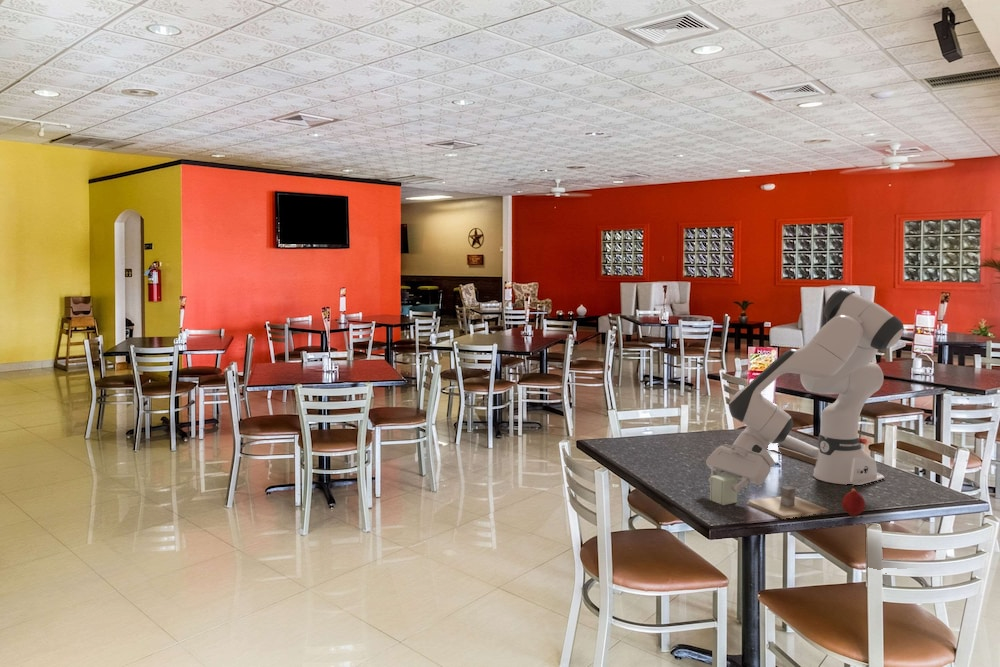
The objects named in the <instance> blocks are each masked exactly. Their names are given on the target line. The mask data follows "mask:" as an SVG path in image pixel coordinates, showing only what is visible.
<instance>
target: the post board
mask: <svg viewBox="0 0 1000 667" xmlns="http://www.w3.org/2000/svg"><path fill="white" fill-rule="evenodd" d="M780 489H781V490H780V496H776V497H773V496H772V497H769V498H760V499H753V500H752V499H751V500H748V503H747V504H748V505H749V506H751V507H753V508H756V509H758V510H760V511H763V512H765V513H766V514H769V513H770V514H769V515H771V514H772V516H774V515H775V516H774V517H776V516H777V517H776V518H778V517H780V518H782V519H781V520H783V519H784V520H787V519H786V518H790V519H795V517H797V518H802V517H808V516H809V515H810V516H814V515H813V514H816V515H820V514H819V513H823V512H828V513H829V510H828V508H826V507H823V506H822V505H821V506H820V505H818V504H816V503H813V502H811V501H808V500H806V499H803V498H801V497H798V496H796V488H794V487H791V486H782V487H781V488H780ZM823 514H824V513H823ZM801 516H802V517H801ZM793 517H794V518H793ZM780 518H779V519H780Z"/></svg>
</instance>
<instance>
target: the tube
mask: <svg viewBox="0 0 1000 667" xmlns="http://www.w3.org/2000/svg"><path fill="white" fill-rule="evenodd" d="M778 446H780V447H782V448H786V449H789V450H792V451H795V452H798V453H801V454H804V455H808V456H811V457H814V458H817V454H818V449H819V447H817V446H814V445H812V444H810V443H807V442H805V441H803V440H800V439H799V438H796V437H793V435H792V436H791V435H789V434H788V435H787V437H786V438H785V440H784V441H783V442H781V443H779V445H778Z"/></svg>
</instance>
